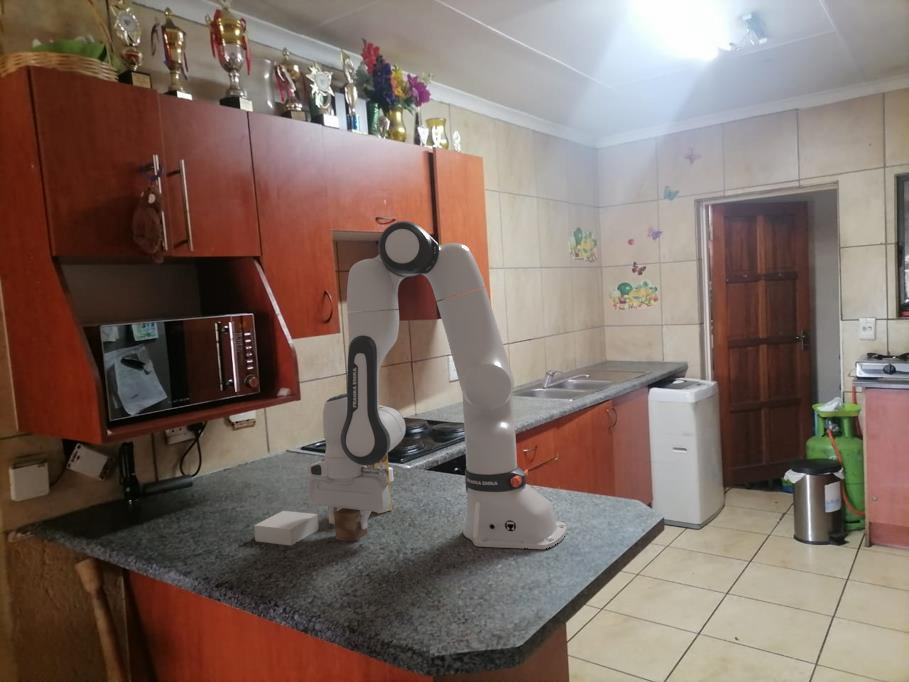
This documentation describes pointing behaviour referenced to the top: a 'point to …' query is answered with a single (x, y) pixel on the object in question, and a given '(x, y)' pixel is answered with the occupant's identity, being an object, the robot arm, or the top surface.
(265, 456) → the top surface
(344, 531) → the walnut block
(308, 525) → the stone slab
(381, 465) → the candy box
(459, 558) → the top surface
